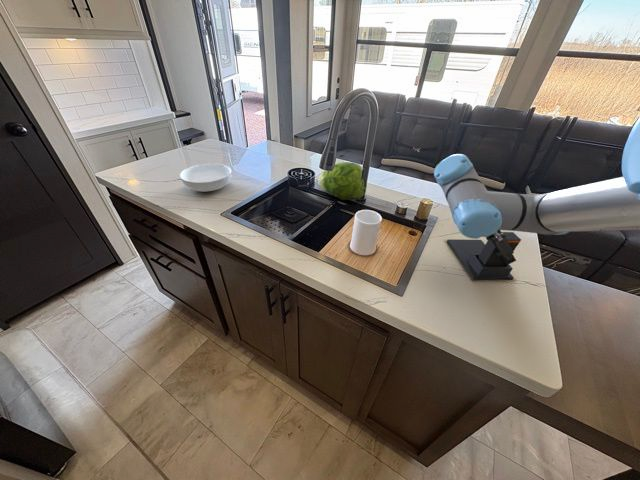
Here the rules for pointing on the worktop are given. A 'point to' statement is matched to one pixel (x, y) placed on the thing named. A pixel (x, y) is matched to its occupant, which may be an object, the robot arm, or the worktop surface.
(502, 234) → the robot arm
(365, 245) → the mug
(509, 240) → the black orange-striped block
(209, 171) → the serving bowl
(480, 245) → the base pad
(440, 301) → the worktop surface
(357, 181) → the lettuce
